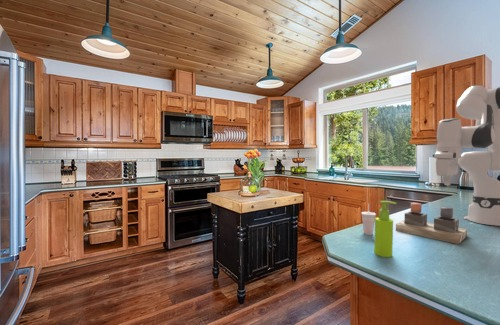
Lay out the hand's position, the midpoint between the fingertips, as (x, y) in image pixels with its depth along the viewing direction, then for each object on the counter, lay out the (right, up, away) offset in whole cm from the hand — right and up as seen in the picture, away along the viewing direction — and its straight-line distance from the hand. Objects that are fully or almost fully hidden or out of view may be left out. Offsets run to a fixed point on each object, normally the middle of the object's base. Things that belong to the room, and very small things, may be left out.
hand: (447, 185), depth 111 cm
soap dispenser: (-39, -24, -19) cm, 50 cm away
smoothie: (-34, -23, +4) cm, 41 cm away
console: (-4, -23, +6) cm, 24 cm away
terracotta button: (-8, -14, +10) cm, 19 cm away
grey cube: (0, -14, +1) cm, 14 cm away
